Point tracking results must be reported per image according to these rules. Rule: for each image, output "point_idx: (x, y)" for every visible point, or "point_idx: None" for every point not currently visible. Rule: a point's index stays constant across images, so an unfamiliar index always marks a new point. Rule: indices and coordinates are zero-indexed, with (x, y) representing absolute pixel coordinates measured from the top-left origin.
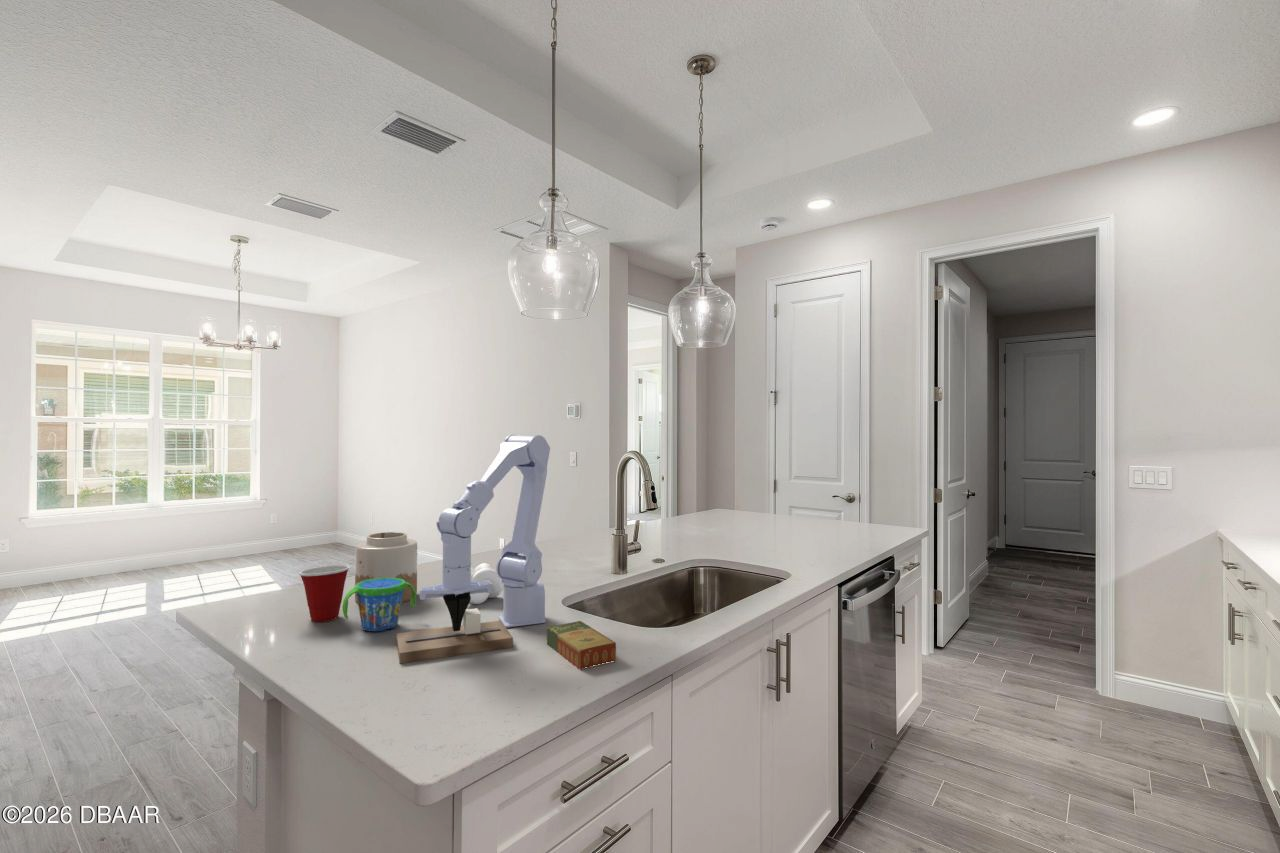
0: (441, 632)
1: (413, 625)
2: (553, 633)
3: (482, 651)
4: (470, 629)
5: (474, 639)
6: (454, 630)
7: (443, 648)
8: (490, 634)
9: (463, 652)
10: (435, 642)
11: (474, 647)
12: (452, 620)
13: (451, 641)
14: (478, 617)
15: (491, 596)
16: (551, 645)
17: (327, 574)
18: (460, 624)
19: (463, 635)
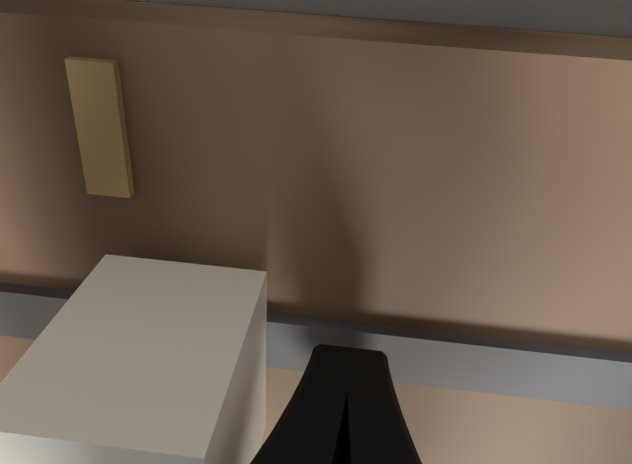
0: (455, 457)
1: None
2: None
3: (147, 4)
4: (199, 293)
5: (189, 145)
6: (380, 354)
7: (596, 54)
8: (13, 214)
9: (347, 20)
10: (615, 255)
11: (217, 18)
12: (415, 453)
13: (447, 202)
14: (30, 384)
15: None
16: None
17: None
18: (304, 387)
19: (284, 308)
